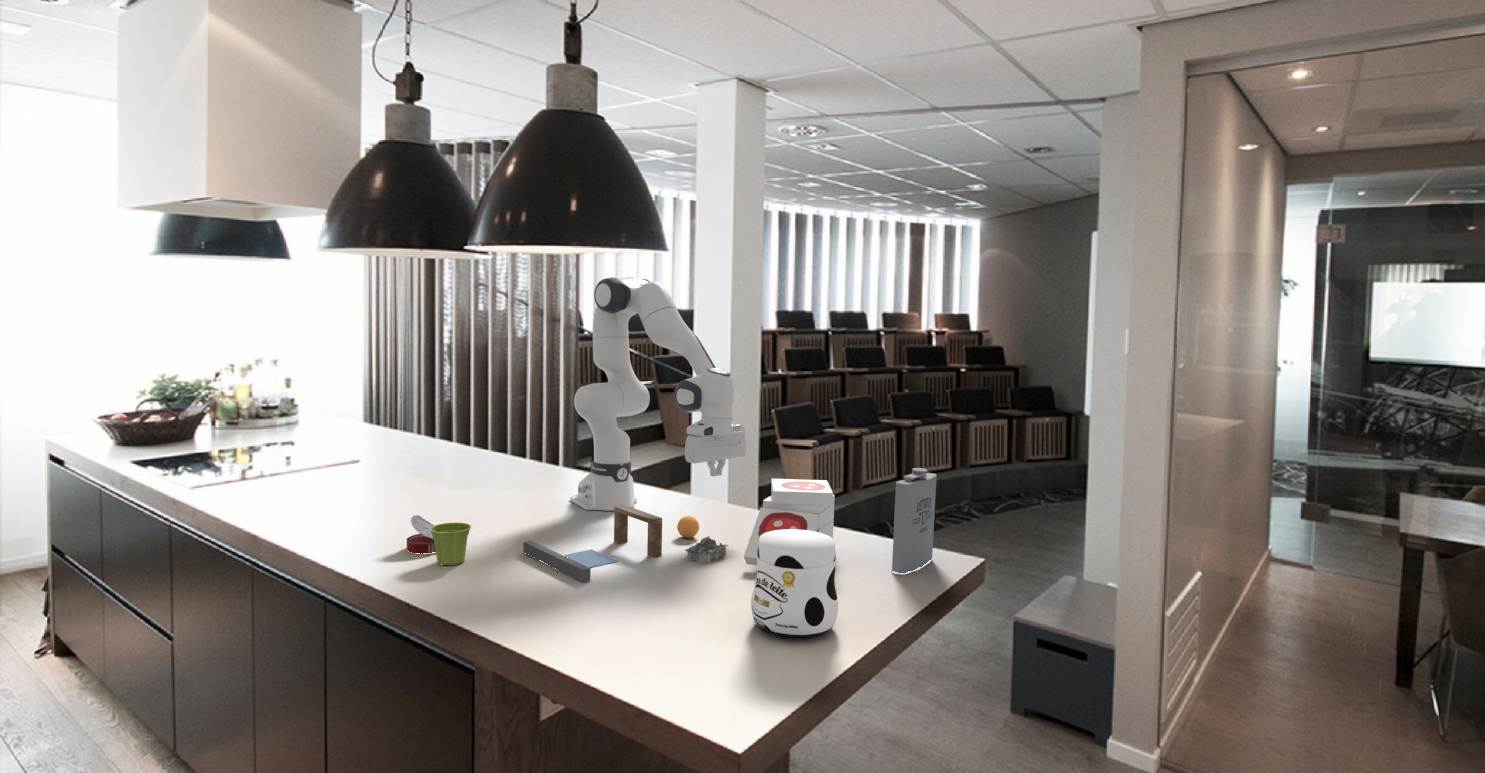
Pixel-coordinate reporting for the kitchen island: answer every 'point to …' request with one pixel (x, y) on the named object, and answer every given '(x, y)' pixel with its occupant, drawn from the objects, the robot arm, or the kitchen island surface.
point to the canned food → (421, 537)
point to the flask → (914, 520)
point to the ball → (688, 526)
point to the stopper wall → (557, 561)
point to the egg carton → (706, 550)
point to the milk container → (795, 583)
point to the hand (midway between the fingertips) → (716, 475)
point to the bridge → (653, 521)
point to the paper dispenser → (793, 510)
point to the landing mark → (591, 558)
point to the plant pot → (450, 542)
